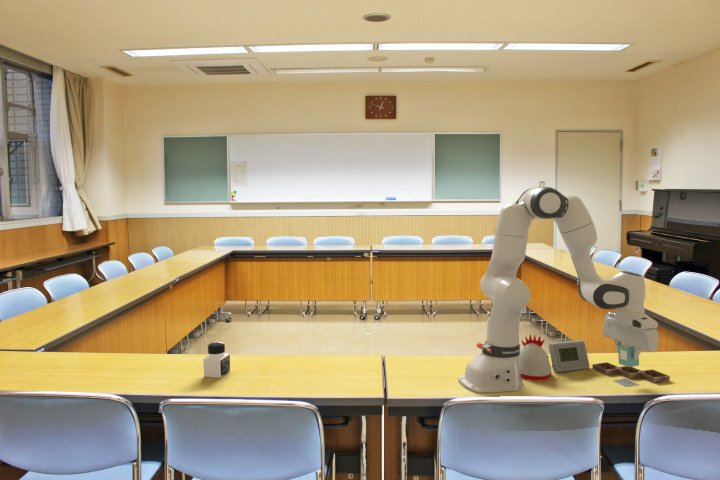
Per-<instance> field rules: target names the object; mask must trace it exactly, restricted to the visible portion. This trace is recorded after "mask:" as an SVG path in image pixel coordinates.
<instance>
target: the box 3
mask: <svg viewBox="0 0 720 480" xmlns="http://www.w3.org/2000/svg"><path fill="white" fill-rule="evenodd" d="M642 371H644V372H645V374H644V373H641V372H642ZM639 372H640V373H641V378H640V379H643V380H646V381H647V382H649V383H652V384H660V383H667V382H670V379H671V376H670V375H668V374H666V373H663V372H660V371H658V370H655V369H652V368H651V369H645V370H641V371H638V373H639Z"/></svg>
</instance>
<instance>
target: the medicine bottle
mask: <svg viewBox="0 0 720 480" xmlns="http://www.w3.org/2000/svg"><path fill="white" fill-rule="evenodd" d="M225 345H226V344H225V343H224V342H222V341H214V342H210V343H209V344H208V345H207V356H206V357H204V358H203V359H202V360H203V362H202V363H203V377H204V378H211V379H212V378H213V379H222V378H224V377H225V376H226V375H228V373H230V372H231V357H230V355H231V353H226V347H225Z"/></svg>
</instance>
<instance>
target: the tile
mask: <svg viewBox="0 0 720 480" xmlns="http://www.w3.org/2000/svg"><path fill="white" fill-rule="evenodd" d="M612 382H615V383H617V384H619V385H621V386H623V387H625V388H629V387H636V386H640V384H639V383H637V382H635V381H632V380H631V379H628V378H621V379H615V380H614V379H613V380H612Z"/></svg>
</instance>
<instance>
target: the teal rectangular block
mask: <svg viewBox="0 0 720 480" xmlns="http://www.w3.org/2000/svg"><path fill="white" fill-rule="evenodd" d="M635 351H636V350H634V347H633V346H631V345H628V344H622V345H619V346H618V352H617V353H618V365H622V366H628V367H637V366H640V358H639V359H637V360H635V359H633V358H632V357H631V356H632V353H634V352H635Z"/></svg>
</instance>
